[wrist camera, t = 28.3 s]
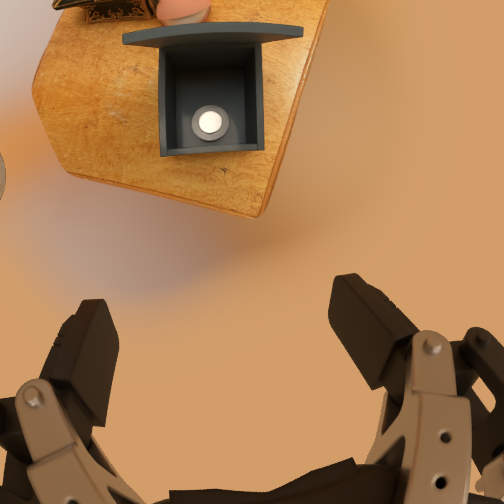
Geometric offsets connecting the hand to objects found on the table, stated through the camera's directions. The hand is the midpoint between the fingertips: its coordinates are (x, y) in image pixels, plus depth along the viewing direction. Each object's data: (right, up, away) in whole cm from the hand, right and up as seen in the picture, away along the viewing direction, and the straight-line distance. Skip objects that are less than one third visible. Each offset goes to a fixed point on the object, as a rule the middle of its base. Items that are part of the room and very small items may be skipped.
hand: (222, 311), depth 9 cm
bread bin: (-5, +23, +27) cm, 36 cm away
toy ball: (-9, +38, +20) cm, 44 cm away
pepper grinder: (-5, +20, +27) cm, 34 cm away
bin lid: (-3, +20, +9) cm, 22 cm away
